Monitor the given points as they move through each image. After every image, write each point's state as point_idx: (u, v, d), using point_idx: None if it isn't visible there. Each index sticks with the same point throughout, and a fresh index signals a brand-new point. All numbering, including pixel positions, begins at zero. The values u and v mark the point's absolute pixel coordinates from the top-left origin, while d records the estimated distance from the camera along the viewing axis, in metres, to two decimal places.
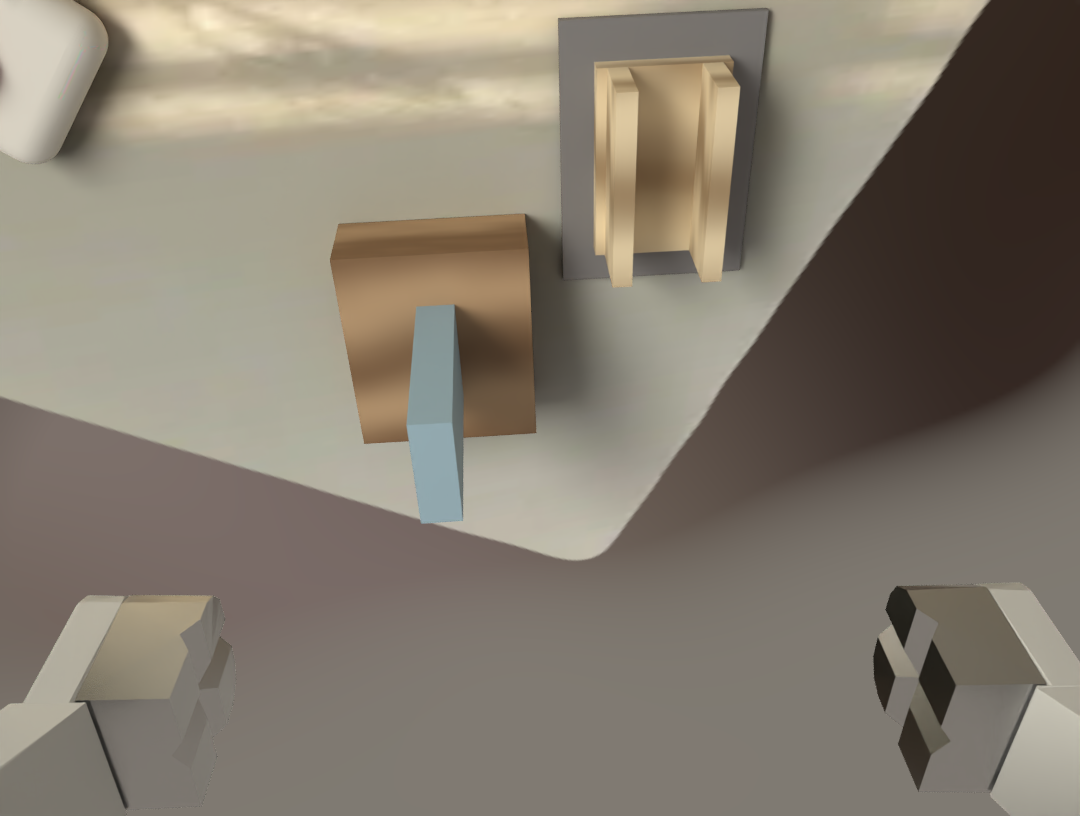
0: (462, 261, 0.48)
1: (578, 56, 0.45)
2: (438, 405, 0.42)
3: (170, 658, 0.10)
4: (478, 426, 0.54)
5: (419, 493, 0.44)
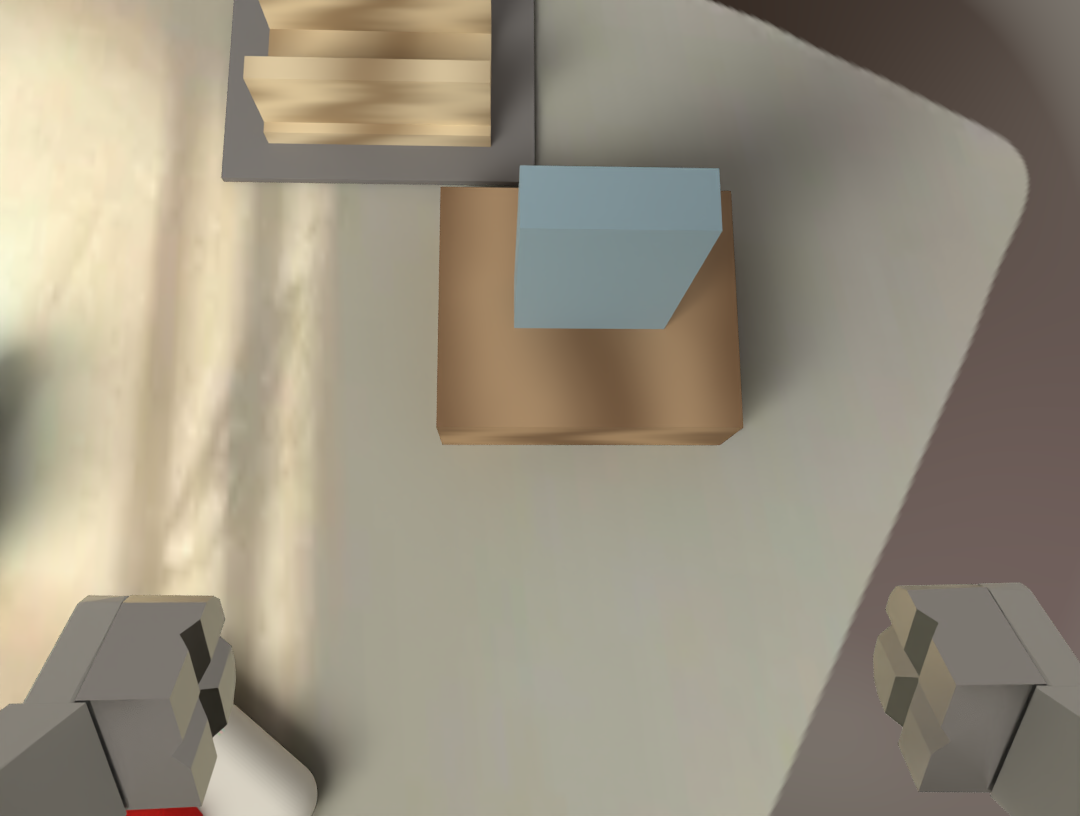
0: (451, 264, 0.38)
1: (261, 159, 0.42)
2: None
3: (170, 658, 0.10)
4: (716, 266, 0.38)
5: (657, 225, 0.28)
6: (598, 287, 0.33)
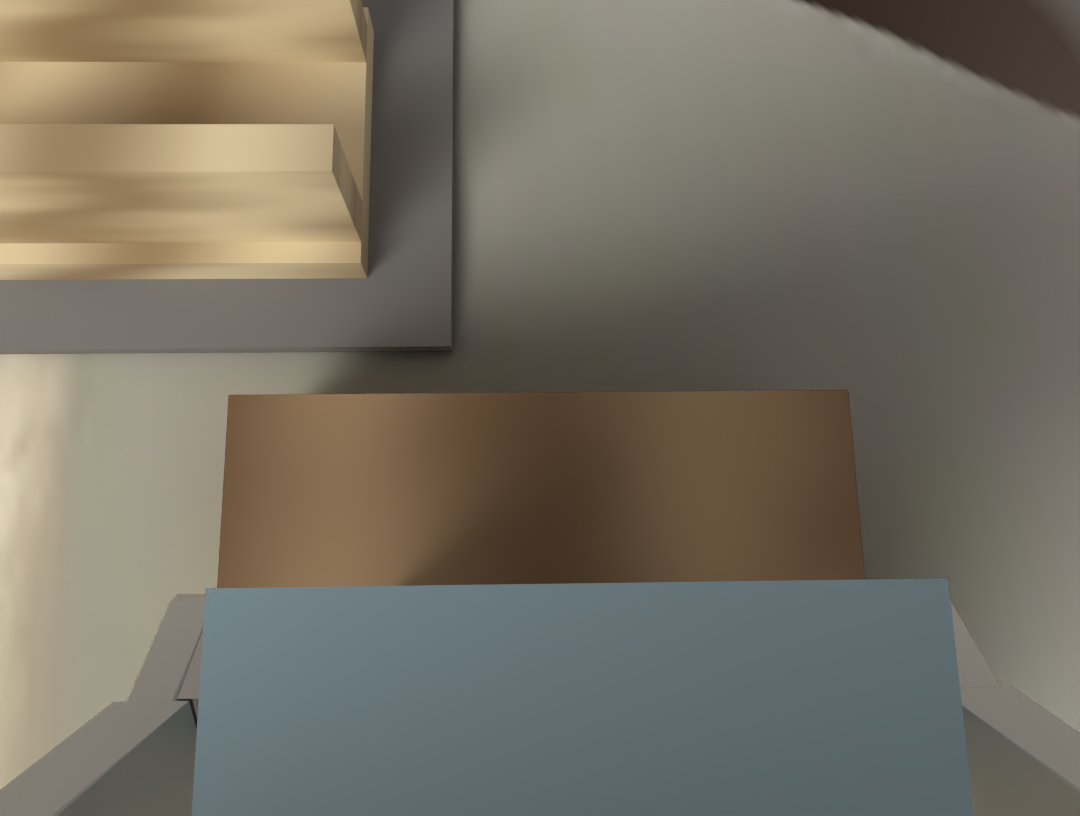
0: (245, 572, 0.17)
1: None
2: None
3: None
4: (823, 562, 0.18)
5: None
6: None
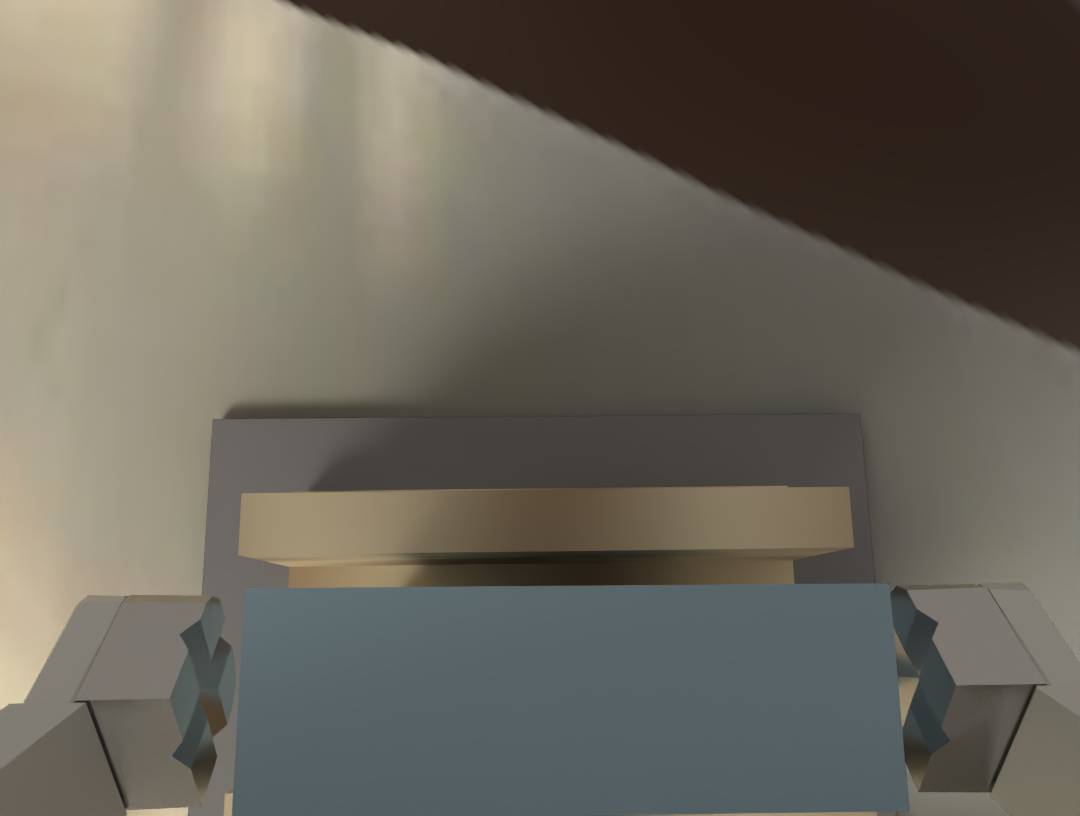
0: None
1: None
2: None
3: (170, 658, 0.10)
4: None
5: (693, 798, 0.08)
6: None
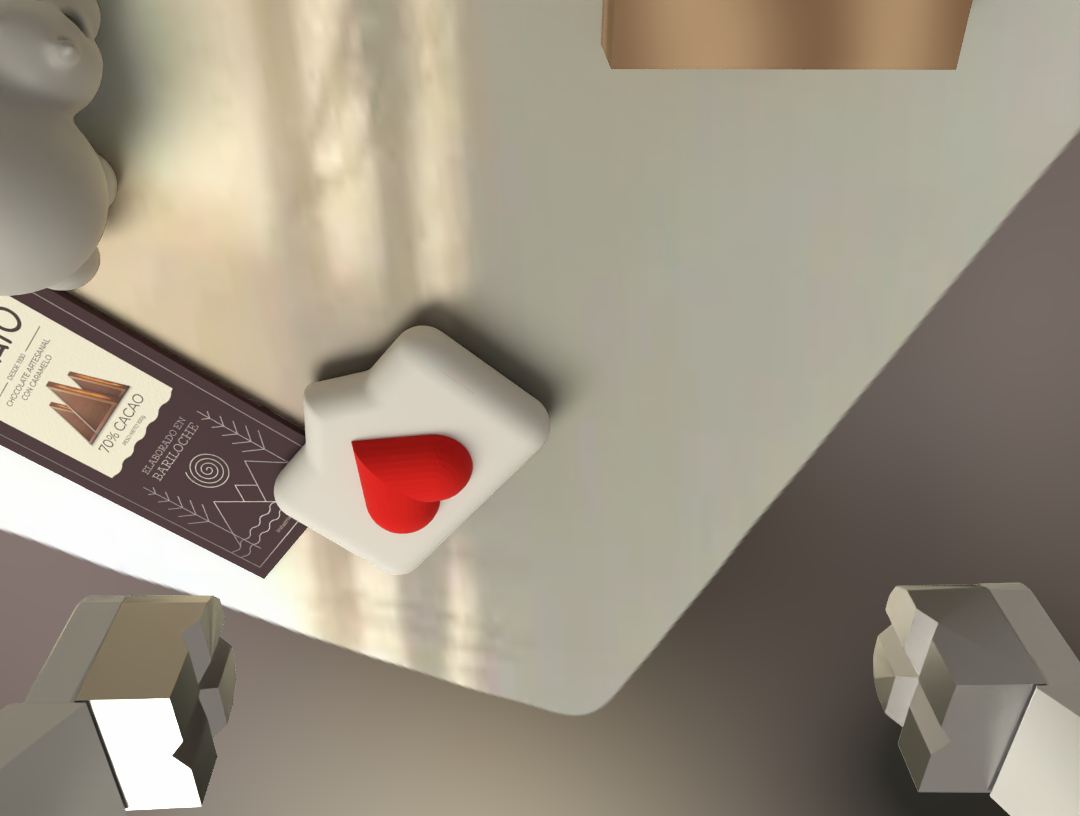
0: None
1: None
2: None
3: (170, 658, 0.10)
4: None
5: None
6: None
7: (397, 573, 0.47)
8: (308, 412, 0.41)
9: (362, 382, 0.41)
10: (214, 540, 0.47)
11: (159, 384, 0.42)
